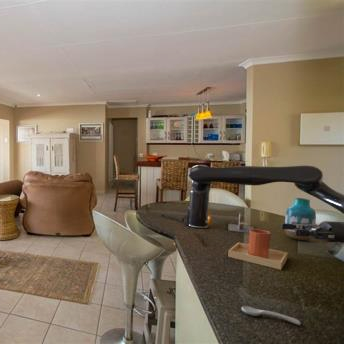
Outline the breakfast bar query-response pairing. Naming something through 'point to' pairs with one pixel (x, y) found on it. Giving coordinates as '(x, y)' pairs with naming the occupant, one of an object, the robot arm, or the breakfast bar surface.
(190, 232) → the breakfast bar surface
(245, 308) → the spoon
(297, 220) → the vase
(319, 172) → the robot arm
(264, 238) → the cup
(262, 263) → the tray
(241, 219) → the architectural model
